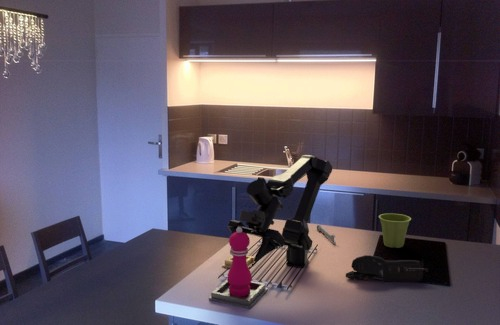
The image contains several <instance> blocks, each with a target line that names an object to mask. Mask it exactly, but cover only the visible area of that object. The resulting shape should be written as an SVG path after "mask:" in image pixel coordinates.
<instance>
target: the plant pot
mask: <svg viewBox="0 0 500 325" xmlns="http://www.w3.org/2000/svg"><path fill="white" fill-rule="evenodd" d="M378 218H379V220H380V224H381V230H382V237H383V238H382V239H383V244H384V246H385V247H388V248H396V249H400V248H403V247H404V245H405V241H406V237H407V235H406V234H407V231H408V227H409V224H410V221H411V220H412V217H410V216H408V215H406V214H400V213H382V214H380V215H378Z"/></svg>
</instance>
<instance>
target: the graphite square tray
mask: <svg viewBox="0 0 500 325" xmlns="http://www.w3.org/2000/svg"><path fill="white" fill-rule="evenodd" d="M266 285H267V284H266V283H264V282H259V281H253V280H252V281H251V283H250V284H249V286H250V293H249V295H247V296H243V297H238V296H233V295H231V294H230V293H229V286H230V284H229V283H228V280H227V279H226V280H224V281H223V282H222V283H221V284H220V285H218V286H217V287H216V288H215V289H214V290H213V291H212V292H210V296H209V297H208V300H209V301H213V302H217V303H222V304H226V305H231V306H235V307H240V308H244V309H249V310H250V309H251V308H252V307H254V305H255V304H256V303H257V302H258V301H259V300H260V299H261V298H262V297H263V295H265V293H267V291H268V290H269V289H268V288H269V287H267V286H266Z"/></svg>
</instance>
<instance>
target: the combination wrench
mask: <svg viewBox="0 0 500 325" xmlns="http://www.w3.org/2000/svg"><path fill="white" fill-rule="evenodd" d="M316 231H318V232H321V233H322V234H324V235H325V236H326V237H327V238H329V239H330V241H331V244H333V245H336V243H337V242H336V241H335V238H336V235H335V234H330V233H329V232H328V231H327V230H325V229H324V227H322V225H321V224H317V225H316Z"/></svg>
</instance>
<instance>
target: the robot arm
mask: <svg viewBox="0 0 500 325" xmlns="http://www.w3.org/2000/svg"><path fill="white" fill-rule="evenodd" d="M332 172H333V165H332V164H331V162H330V161H329V160H323V159H321V158H318V157H317V156H314V155H310V154H303V155H301V156H300V158H299V159H298V160H297V161H296V162H295V163H293V164H292V165H291V166H290V167H289V168H288V169H286V171H285V172H283V173H280V174H276V175H274V176H272V177H271V178H269V179H268V181H267V180H266V179H265V178H264V177H257V179H255V180H253V181H252V182H250V183H249V184H248V185H247V186H246V192H247V195H249V197H250V198H251V199H252V200H253V201H254V203H255V204H256V205H258V207H257V209H254V210H252V211H249V210H245V209H241V210H240V214H239V219H238V220H235V219H231V220H229V221H228V224H227V226H226V227H227V228H228V230H229V231H230V232H231V235H232V234H233V233H235V232H236V229H237V228H238V227H241V228H242V232H244V233H246V234H247V235H250V236H254V237H259V238H261V244H260V246H259V248H258V250H257V252H256V254H255V256H254V261H255V262H256V263H257V262H259V261H260V260H262V259H263V258H264V257H265V256H266V255H268V254H270V253H271V252H273V251H275V250H277V249H279V248H281V249H282V248H283V247H284V246H286V247H287V249H286V252H285V253H286V255H285V259H286V263H285V265H286V264H287V265H286V266H290V265H292V266H291V267H296V266H297V267H296V268H305V266H306V265H308V263H309V262H310V260H309V259H308V255H309V254H308V250H309V251H310V250H311V248H312V246H313V240H312V239H311V237H310V236H309V233H310V230H309V224H308V221H309V219H310V216H311V213H312V211H313V209H314V205H315V202H316V199H317V197H318V193H319V191H320V188H321V186H322V185H323V184H325V183H326V182H327V181H328V180H329V179H330V175H331V174H332ZM304 175H306V178H307V180H306V184H305V187H304V188H303V189H304V190H303V192H302V195H301V197H300V199H299V203H298V205H297V208H296V210H295V213H294V216H293V217H292V218H291V219H290V218H287V219H286V221H285V223H284V226H283V227H282V231H281V232H280V231H279V230H276V229H272V228H270V227H271V226H274V224H275V220H274V218H275V216H276V214H277V212H278V210H284V205H283V202H282V200H279V198H282V199H286V198H288V197H289V196H290V195H291V193H292V192H293V191H294V185H295V184H296V183H297V182H299V180H301V178H302V177H303V176H304ZM242 221H243V222H244V223H245V224H244V223H243V222H242ZM245 225H246V226H245ZM231 248H232V247H231V246H230V252H229V254H230V255H231V256H232V254H231Z"/></svg>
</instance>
